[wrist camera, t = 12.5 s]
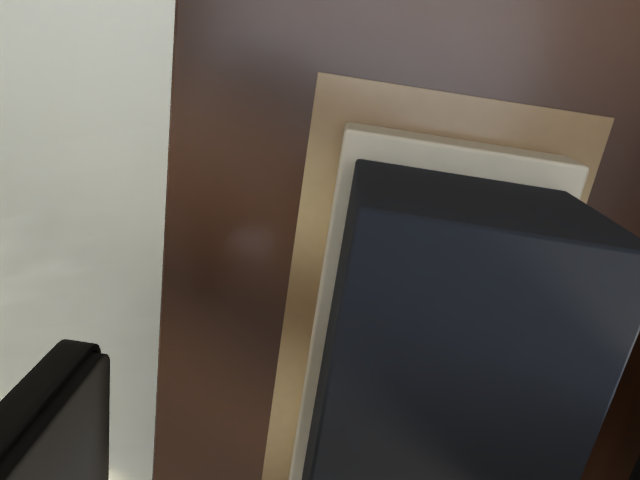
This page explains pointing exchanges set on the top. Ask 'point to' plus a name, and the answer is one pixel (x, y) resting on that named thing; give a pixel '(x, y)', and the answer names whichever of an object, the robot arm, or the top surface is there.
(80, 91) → the top surface
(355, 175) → the stepped dark grey block
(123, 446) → the top surface
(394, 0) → the wooden bench
